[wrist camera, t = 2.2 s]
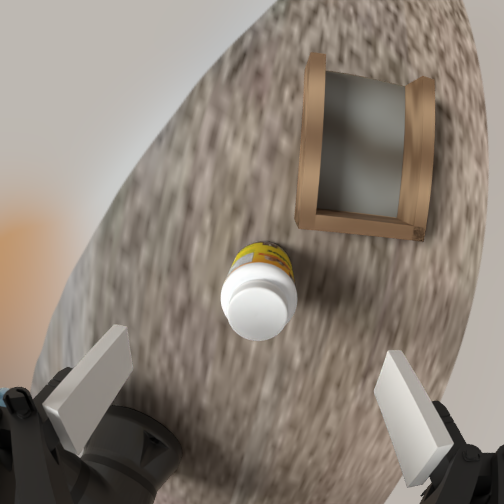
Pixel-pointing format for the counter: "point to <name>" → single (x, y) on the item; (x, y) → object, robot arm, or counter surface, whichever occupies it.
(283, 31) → the counter surface
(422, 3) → the counter surface
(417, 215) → the walnut u rest
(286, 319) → the supplement bottle
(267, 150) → the counter surface
